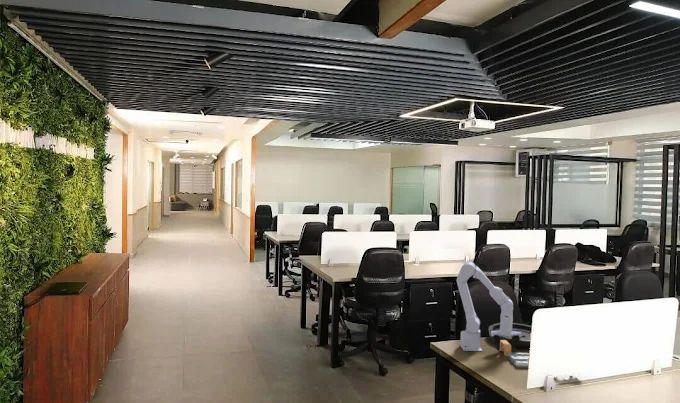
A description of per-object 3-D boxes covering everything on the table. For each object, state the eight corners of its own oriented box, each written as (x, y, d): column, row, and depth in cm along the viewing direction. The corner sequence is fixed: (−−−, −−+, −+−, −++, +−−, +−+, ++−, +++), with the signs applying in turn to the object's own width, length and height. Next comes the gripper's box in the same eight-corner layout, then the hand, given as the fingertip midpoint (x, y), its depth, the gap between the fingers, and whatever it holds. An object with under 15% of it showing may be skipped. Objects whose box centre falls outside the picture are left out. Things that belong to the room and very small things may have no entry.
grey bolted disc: (533, 332, 263) (481, 331, 263) (534, 322, 263) (481, 321, 263) (558, 352, 233) (499, 351, 233) (558, 340, 233) (499, 339, 233)
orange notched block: (504, 355, 226) (505, 345, 226) (499, 350, 234) (500, 340, 234) (510, 356, 226) (511, 345, 226) (505, 350, 234) (506, 340, 234)
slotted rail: (516, 368, 212) (516, 362, 211) (507, 357, 225) (507, 352, 224) (538, 368, 211) (538, 363, 211) (527, 357, 224) (527, 352, 224)
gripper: (494, 325, 225) (493, 352, 226) (524, 326, 225) (523, 353, 226) (489, 321, 233) (488, 347, 233) (518, 321, 232) (517, 348, 233)
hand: (505, 350), depth 230 cm, fingers open, 7 cm apart
